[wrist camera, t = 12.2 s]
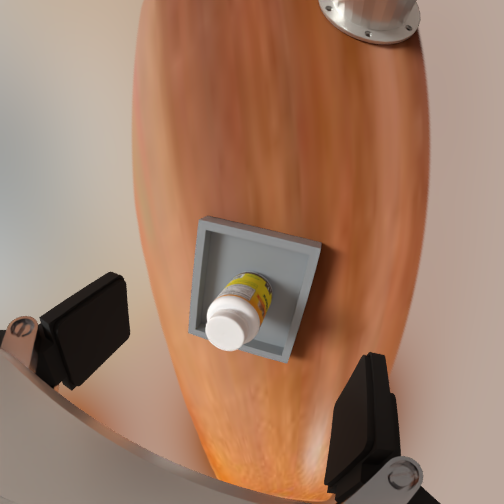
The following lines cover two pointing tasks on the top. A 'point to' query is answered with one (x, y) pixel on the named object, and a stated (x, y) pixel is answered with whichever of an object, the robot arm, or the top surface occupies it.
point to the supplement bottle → (238, 311)
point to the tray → (259, 261)
